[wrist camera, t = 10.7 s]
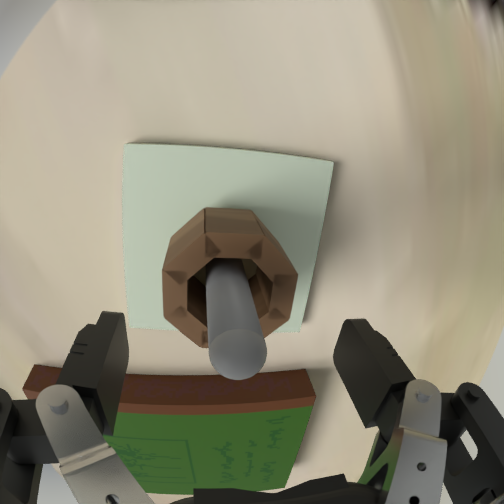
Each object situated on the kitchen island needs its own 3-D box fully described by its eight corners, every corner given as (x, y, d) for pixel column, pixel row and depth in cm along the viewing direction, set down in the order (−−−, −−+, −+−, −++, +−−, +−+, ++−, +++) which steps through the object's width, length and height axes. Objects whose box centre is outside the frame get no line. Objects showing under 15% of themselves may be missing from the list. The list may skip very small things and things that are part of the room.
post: (128, 143, 16) (32, 172, 6) (327, 160, 18) (450, 207, 8) (132, 319, 21) (99, 450, 11) (296, 324, 23) (349, 444, 13)
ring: (171, 205, 16) (161, 230, 12) (283, 211, 17) (305, 237, 13) (171, 303, 18) (165, 346, 14) (269, 306, 19) (283, 347, 16)
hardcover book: (303, 364, 25) (316, 395, 22) (278, 464, 33) (284, 487, 29) (30, 359, 22) (15, 387, 18) (87, 461, 29) (83, 484, 25)
